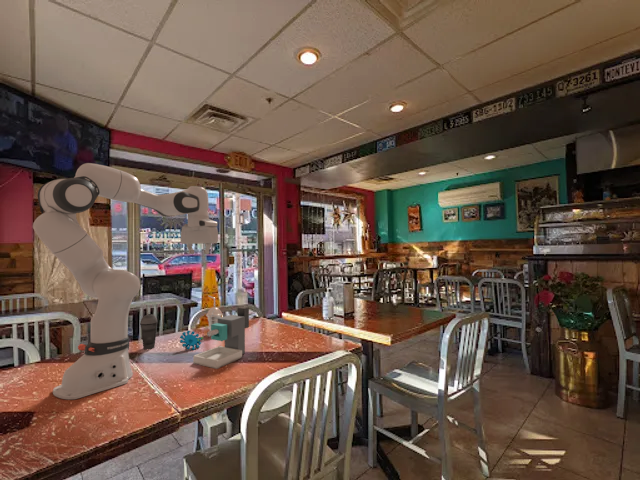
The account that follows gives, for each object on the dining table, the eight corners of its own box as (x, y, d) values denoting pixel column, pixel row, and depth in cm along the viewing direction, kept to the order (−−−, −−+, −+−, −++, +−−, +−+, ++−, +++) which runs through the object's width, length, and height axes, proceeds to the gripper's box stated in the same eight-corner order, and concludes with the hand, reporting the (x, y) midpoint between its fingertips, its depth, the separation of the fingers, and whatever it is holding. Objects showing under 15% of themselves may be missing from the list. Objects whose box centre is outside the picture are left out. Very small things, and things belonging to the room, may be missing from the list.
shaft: (212, 339, 124) (212, 316, 124) (205, 338, 126) (205, 315, 126) (248, 327, 143) (248, 307, 143) (242, 326, 145) (242, 306, 145)
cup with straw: (207, 336, 164) (207, 297, 165) (204, 332, 172) (204, 295, 173) (223, 333, 168) (223, 296, 169) (220, 330, 176) (220, 294, 177)
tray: (216, 369, 120) (216, 361, 120) (193, 363, 126) (193, 355, 126) (242, 357, 132) (242, 350, 133) (219, 352, 139) (219, 345, 139)
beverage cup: (150, 350, 142) (150, 306, 142) (136, 350, 143) (136, 306, 143) (161, 345, 149) (161, 303, 149) (147, 345, 150) (147, 303, 150)
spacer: (221, 341, 127) (221, 326, 127) (211, 339, 130) (211, 324, 130) (227, 339, 130) (227, 324, 130) (216, 337, 133) (216, 323, 133)
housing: (231, 359, 131) (231, 320, 131) (217, 356, 134) (217, 318, 135) (244, 353, 138) (244, 316, 138) (231, 350, 141) (231, 314, 142)
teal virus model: (183, 349, 138) (178, 330, 144) (178, 357, 140) (173, 338, 146) (206, 346, 147) (201, 328, 152) (201, 354, 149) (195, 336, 154)
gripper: (176, 223, 143) (177, 254, 143) (209, 221, 133) (209, 254, 133) (188, 224, 148) (188, 253, 148) (220, 222, 139) (220, 253, 139)
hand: (199, 254), depth 141 cm, fingers open, 8 cm apart
